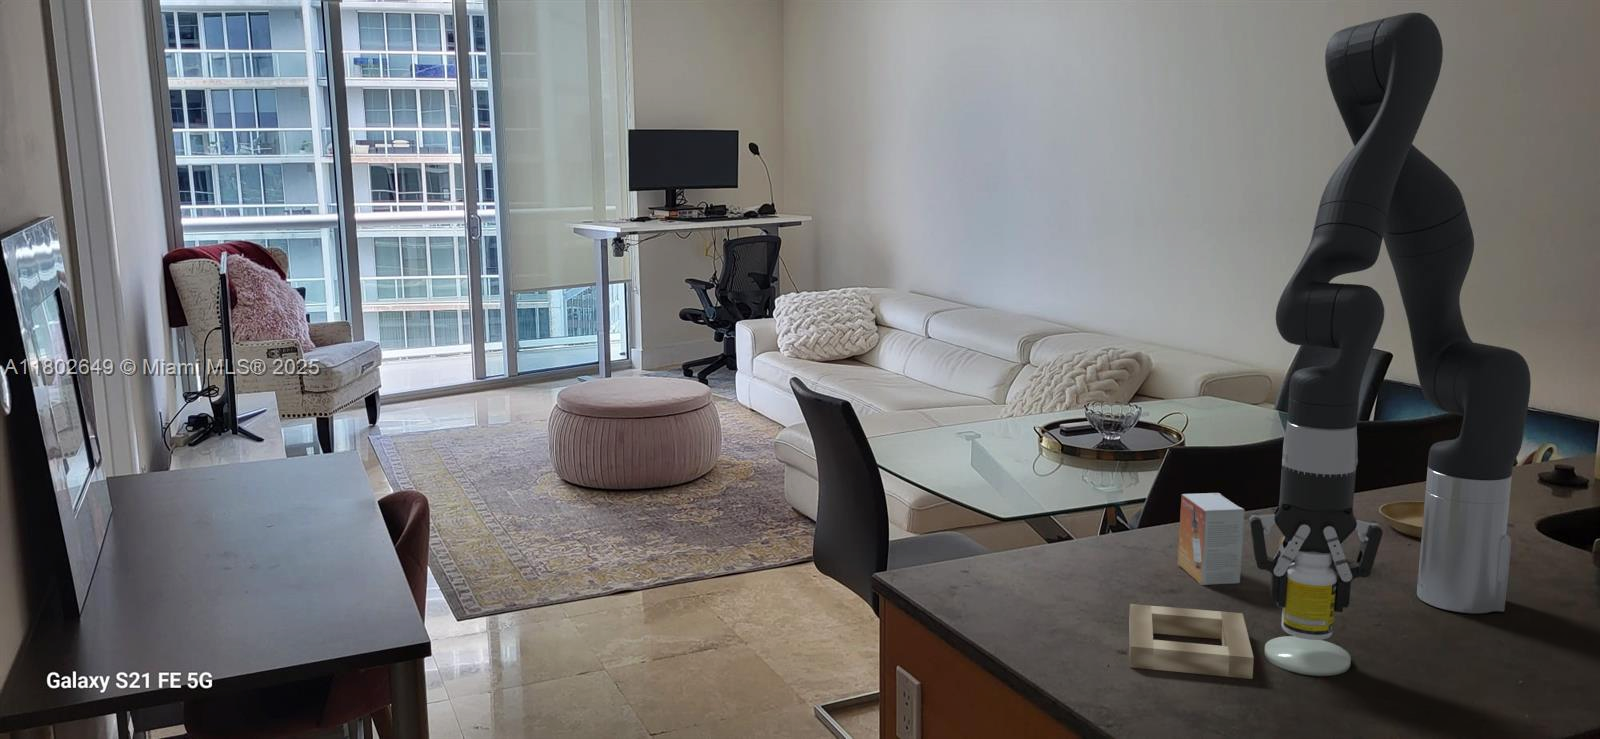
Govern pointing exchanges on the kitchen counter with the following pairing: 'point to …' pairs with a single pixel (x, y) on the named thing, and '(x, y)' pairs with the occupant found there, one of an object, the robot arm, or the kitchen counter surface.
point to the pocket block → (1190, 656)
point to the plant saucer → (1405, 516)
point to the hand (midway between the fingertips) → (1308, 606)
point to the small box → (1211, 538)
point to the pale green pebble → (1307, 656)
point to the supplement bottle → (1310, 596)
